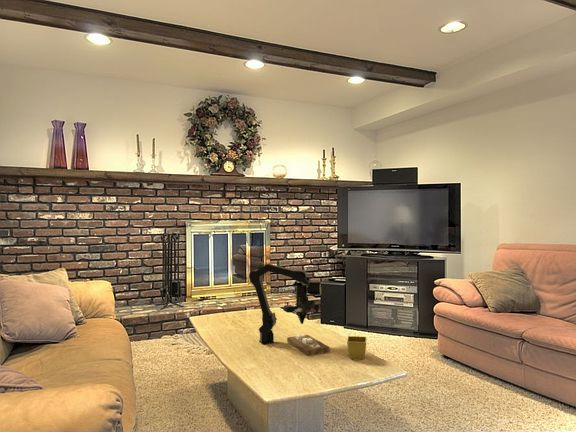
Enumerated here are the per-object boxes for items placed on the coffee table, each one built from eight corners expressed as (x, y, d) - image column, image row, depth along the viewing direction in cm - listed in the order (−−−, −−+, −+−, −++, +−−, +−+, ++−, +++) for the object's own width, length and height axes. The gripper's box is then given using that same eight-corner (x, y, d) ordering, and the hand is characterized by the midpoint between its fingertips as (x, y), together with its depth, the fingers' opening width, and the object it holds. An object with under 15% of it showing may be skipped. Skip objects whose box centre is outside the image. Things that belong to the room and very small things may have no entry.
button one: (298, 341, 220) (298, 336, 220) (295, 339, 223) (295, 334, 223) (305, 339, 221) (305, 335, 221) (302, 338, 225) (302, 333, 225)
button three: (313, 352, 204) (313, 347, 204) (309, 350, 208) (309, 344, 208) (320, 351, 206) (320, 345, 206) (316, 348, 209) (316, 343, 209)
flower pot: (366, 361, 190) (366, 342, 190) (347, 361, 192) (346, 341, 192) (366, 355, 199) (366, 336, 199) (348, 354, 200) (348, 336, 201)
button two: (305, 345, 212) (305, 340, 212) (302, 343, 215) (302, 338, 215) (312, 344, 213) (312, 339, 213) (309, 342, 217) (309, 337, 217)
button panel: (307, 355, 200) (307, 350, 201) (287, 342, 223) (287, 337, 223) (329, 351, 205) (329, 346, 205) (307, 339, 228) (307, 334, 228)
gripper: (291, 298, 209) (291, 329, 209) (324, 295, 216) (324, 325, 216) (283, 294, 219) (283, 324, 219) (315, 291, 226) (315, 320, 226)
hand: (301, 323), depth 220 cm, fingers closed
